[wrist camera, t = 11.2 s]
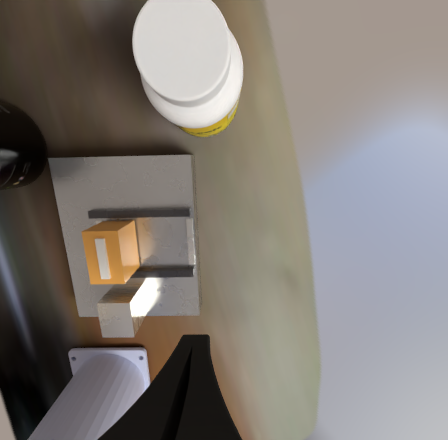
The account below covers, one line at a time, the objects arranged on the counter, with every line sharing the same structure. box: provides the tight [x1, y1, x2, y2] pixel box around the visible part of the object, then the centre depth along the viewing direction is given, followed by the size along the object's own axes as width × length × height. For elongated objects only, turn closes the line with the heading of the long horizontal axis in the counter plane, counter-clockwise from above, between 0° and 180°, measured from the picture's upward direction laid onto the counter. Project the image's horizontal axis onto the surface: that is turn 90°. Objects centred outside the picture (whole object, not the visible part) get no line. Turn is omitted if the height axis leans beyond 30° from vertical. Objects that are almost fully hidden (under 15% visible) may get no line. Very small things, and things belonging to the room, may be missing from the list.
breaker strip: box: [48, 155, 202, 337], centre depth 19 cm, size 14×11×5 cm
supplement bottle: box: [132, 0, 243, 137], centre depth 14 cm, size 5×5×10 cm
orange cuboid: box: [81, 220, 140, 284], centre depth 18 cm, size 4×2×3 cm, turn 1°
